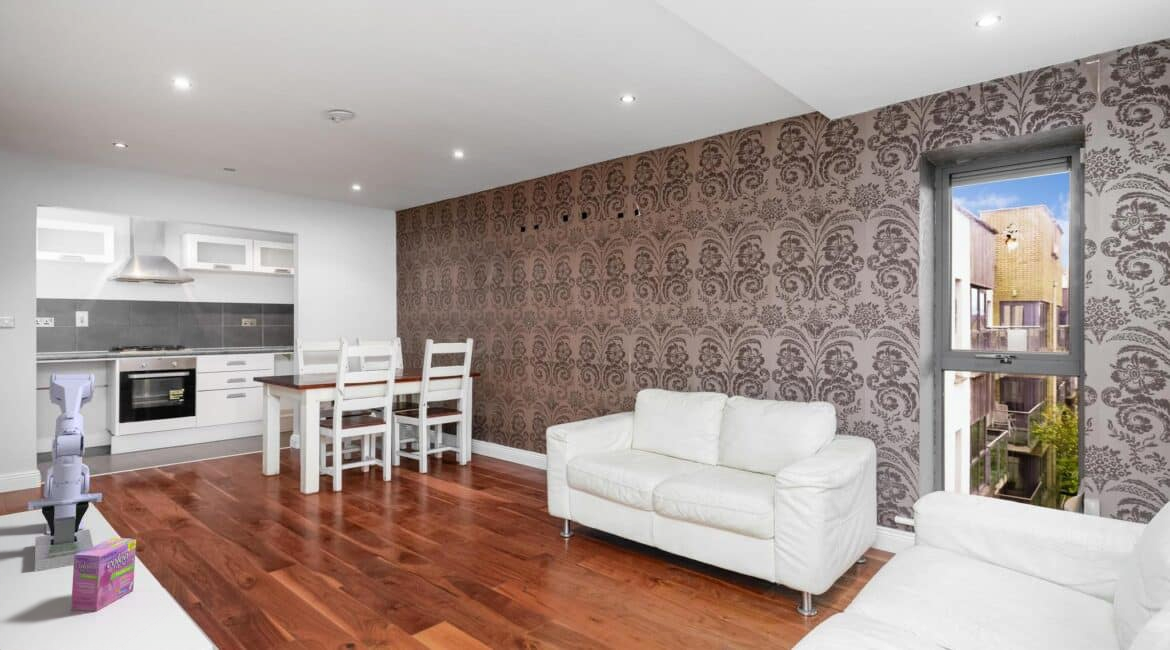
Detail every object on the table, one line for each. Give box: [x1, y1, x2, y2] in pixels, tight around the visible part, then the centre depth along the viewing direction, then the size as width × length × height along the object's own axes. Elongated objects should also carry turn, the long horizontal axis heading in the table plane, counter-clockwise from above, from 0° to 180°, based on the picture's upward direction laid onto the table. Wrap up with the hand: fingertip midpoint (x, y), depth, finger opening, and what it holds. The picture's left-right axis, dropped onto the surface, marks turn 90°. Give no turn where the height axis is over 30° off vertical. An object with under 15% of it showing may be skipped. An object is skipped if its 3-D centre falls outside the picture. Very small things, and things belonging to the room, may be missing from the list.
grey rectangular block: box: [53, 516, 75, 545], centre depth 159 cm, size 4×4×8 cm
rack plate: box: [34, 528, 94, 572], centre depth 157 cm, size 20×11×3 cm, turn 42°
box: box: [70, 537, 137, 612], centre depth 133 cm, size 10×6×12 cm, turn 179°
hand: (64, 533), depth 159 cm, fingers closed on grey rectangular block, 4 cm apart
